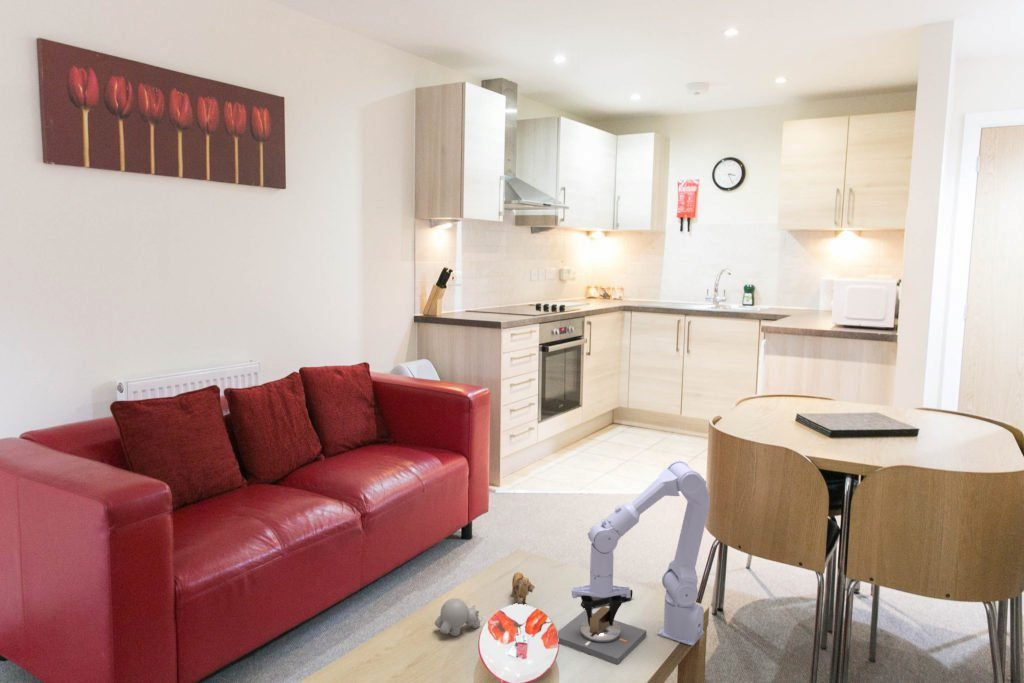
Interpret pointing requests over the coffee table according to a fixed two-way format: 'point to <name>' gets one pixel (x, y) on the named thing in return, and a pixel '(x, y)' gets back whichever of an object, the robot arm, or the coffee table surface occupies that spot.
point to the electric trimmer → (603, 600)
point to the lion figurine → (521, 587)
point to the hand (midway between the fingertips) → (600, 623)
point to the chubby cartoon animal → (457, 617)
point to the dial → (600, 627)
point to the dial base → (603, 650)
